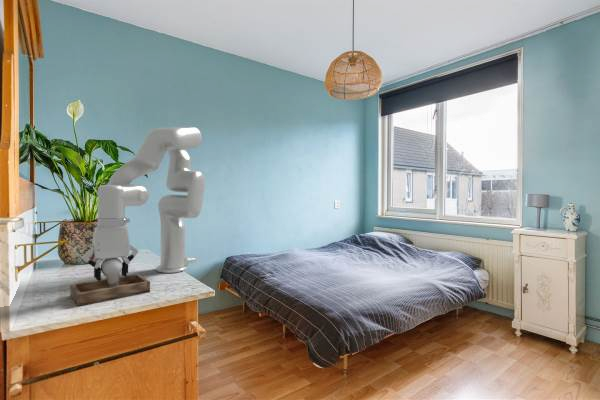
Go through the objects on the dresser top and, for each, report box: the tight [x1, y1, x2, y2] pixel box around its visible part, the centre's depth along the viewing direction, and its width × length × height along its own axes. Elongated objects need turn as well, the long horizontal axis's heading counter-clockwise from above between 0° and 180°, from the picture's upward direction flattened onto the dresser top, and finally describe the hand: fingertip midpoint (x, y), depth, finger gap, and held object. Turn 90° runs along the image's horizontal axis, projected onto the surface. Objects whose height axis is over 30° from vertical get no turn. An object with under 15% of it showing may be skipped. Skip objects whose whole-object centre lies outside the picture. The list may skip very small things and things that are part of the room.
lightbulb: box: [100, 258, 123, 288], centre depth 102 cm, size 6×6×11 cm
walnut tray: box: [69, 273, 151, 307], centre depth 102 cm, size 20×12×4 cm, turn 134°
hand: (111, 277), depth 102 cm, fingers open, 6 cm apart
